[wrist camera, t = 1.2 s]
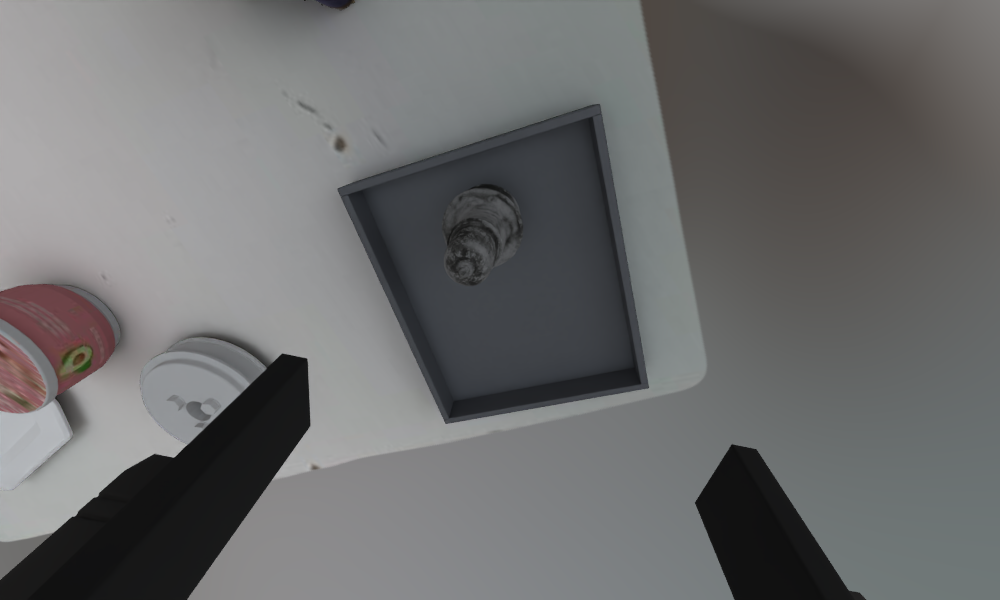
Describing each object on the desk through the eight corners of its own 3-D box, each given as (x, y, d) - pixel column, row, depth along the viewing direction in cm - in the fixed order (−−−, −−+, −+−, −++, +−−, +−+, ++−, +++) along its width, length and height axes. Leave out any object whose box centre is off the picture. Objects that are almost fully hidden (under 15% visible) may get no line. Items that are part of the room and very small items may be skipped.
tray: (353, 182, 31) (336, 189, 28) (593, 104, 27) (600, 103, 25) (451, 404, 40) (445, 424, 38) (641, 368, 37) (649, 388, 34)
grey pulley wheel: (304, 372, 40) (275, 404, 35) (268, 444, 45) (239, 481, 41) (183, 309, 38) (136, 336, 33) (160, 393, 43) (117, 426, 38)
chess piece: (520, 175, 29) (511, 212, 19) (528, 249, 32) (524, 319, 21) (445, 184, 30) (394, 225, 19) (458, 256, 33) (420, 327, 22)
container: (105, 377, 43) (18, 431, 35) (10, 307, 39) (-106, 351, 32) (153, 331, 39) (68, 380, 32) (55, 250, 36) (-65, 285, 29)
